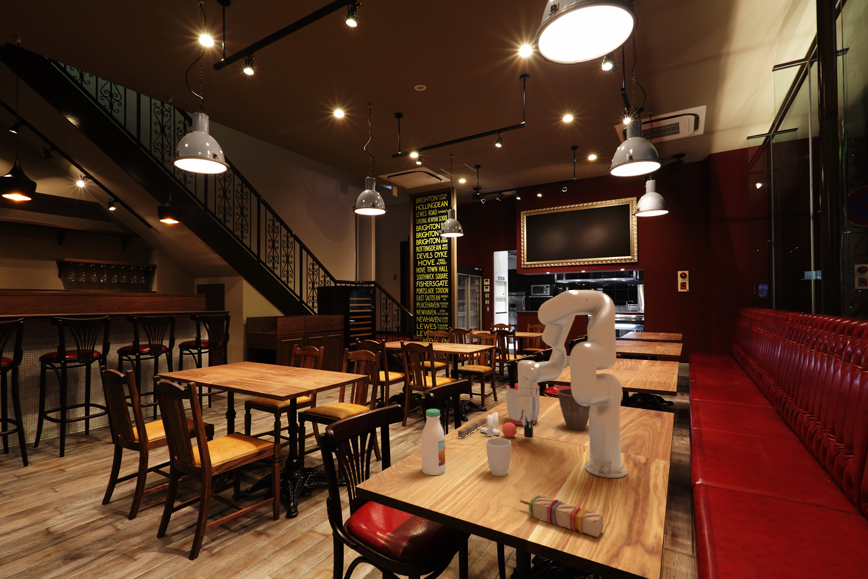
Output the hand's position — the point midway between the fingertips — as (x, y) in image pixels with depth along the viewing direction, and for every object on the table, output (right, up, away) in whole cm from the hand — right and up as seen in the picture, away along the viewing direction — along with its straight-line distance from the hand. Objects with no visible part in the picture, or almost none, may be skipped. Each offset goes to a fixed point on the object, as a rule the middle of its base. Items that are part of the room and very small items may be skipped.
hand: (528, 437), depth 165 cm
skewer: (-7, +1, -62) cm, 63 cm away
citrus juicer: (+3, -3, +27) cm, 27 cm away
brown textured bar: (-21, -2, +14) cm, 25 cm away
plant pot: (+25, -2, +16) cm, 30 cm away
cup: (-17, 0, -32) cm, 36 cm away
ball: (-7, +1, +5) cm, 9 cm away
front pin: (-11, -1, +7) cm, 13 cm away
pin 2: (-12, -2, +11) cm, 16 cm away
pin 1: (-15, -2, +6) cm, 16 cm away
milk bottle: (-38, -1, -30) cm, 49 cm away
